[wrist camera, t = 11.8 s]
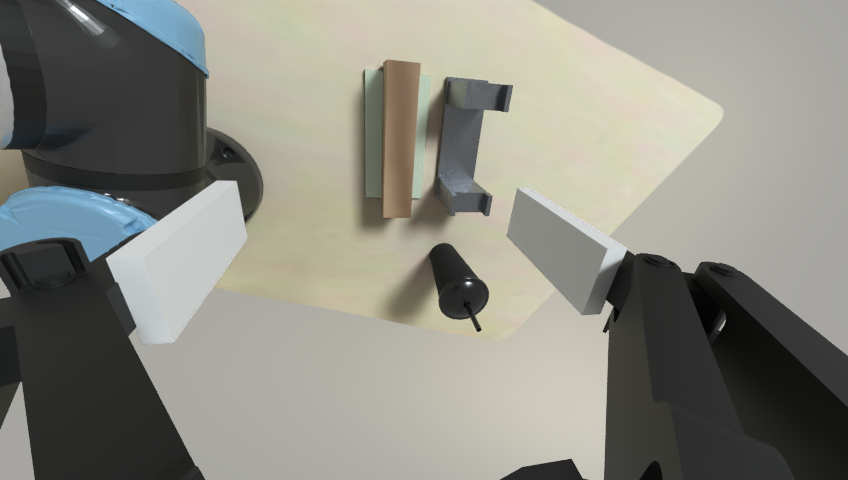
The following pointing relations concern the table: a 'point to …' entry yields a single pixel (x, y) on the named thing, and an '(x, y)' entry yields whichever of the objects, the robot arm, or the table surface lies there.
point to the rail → (398, 136)
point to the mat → (375, 133)
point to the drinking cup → (457, 285)
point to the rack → (465, 142)
